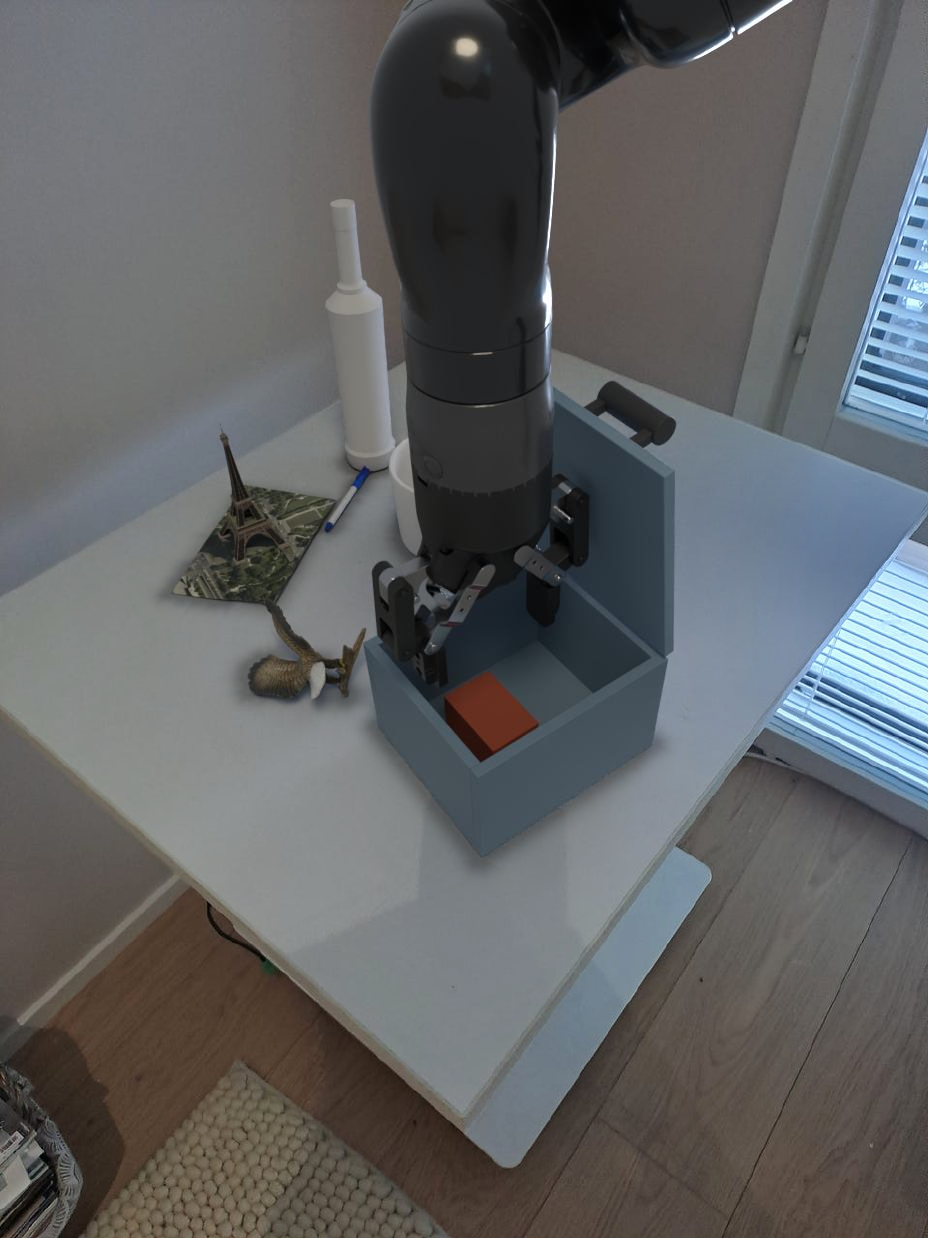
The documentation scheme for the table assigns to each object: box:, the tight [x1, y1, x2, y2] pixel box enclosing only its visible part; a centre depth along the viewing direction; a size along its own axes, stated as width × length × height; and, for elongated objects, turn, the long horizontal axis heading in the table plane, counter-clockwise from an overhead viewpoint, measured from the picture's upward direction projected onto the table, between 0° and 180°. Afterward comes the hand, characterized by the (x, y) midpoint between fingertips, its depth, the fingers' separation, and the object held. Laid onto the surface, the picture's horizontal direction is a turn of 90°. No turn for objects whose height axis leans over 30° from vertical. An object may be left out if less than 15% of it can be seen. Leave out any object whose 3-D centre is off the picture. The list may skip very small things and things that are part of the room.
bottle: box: [324, 198, 396, 472], centre depth 83 cm, size 5×5×25 cm
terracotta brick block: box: [444, 671, 539, 763], centre depth 65 cm, size 6×4×4 cm, turn 35°
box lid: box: [536, 380, 677, 657], centre depth 57 cm, size 16×14×5 cm
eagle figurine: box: [247, 597, 367, 700], centre depth 70 cm, size 8×7×9 cm
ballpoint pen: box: [324, 466, 371, 532], centre depth 87 cm, size 10×1×1 cm, turn 163°
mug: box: [388, 437, 422, 557], centre depth 81 cm, size 13×10×8 cm
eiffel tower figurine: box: [171, 423, 337, 604], centre depth 79 cm, size 15×10×13 cm
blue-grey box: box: [362, 550, 669, 858], centre depth 64 cm, size 16×14×10 cm
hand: (488, 648), depth 59 cm, fingers open, 8 cm apart
